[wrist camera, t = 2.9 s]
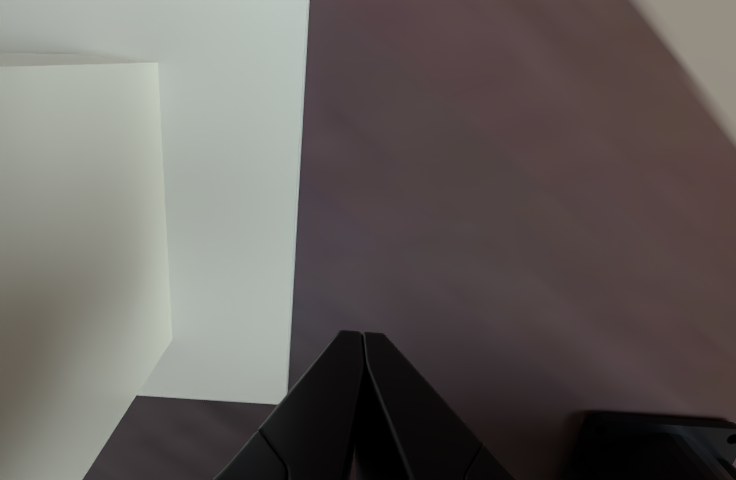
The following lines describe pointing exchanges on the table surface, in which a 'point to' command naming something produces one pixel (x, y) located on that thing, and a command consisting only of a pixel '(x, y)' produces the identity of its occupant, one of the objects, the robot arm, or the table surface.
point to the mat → (209, 170)
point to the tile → (77, 255)
